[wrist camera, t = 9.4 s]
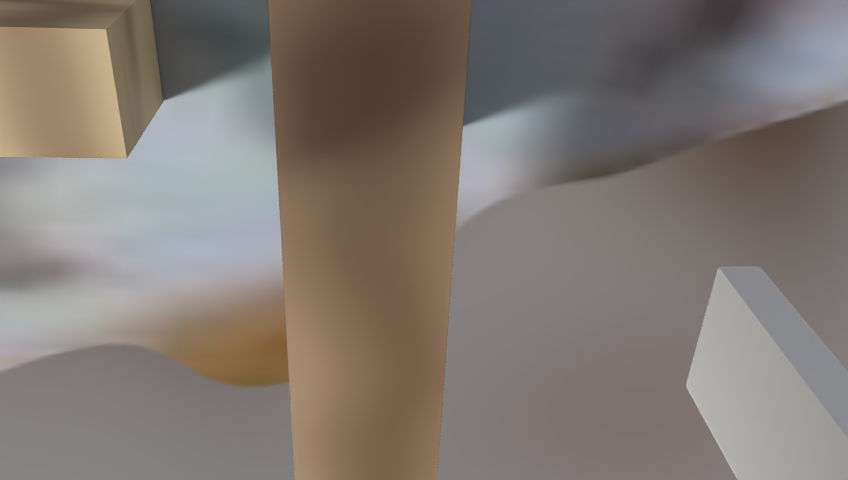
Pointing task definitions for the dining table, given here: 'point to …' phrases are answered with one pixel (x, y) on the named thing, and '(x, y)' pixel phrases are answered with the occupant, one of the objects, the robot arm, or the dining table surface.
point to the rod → (368, 225)
